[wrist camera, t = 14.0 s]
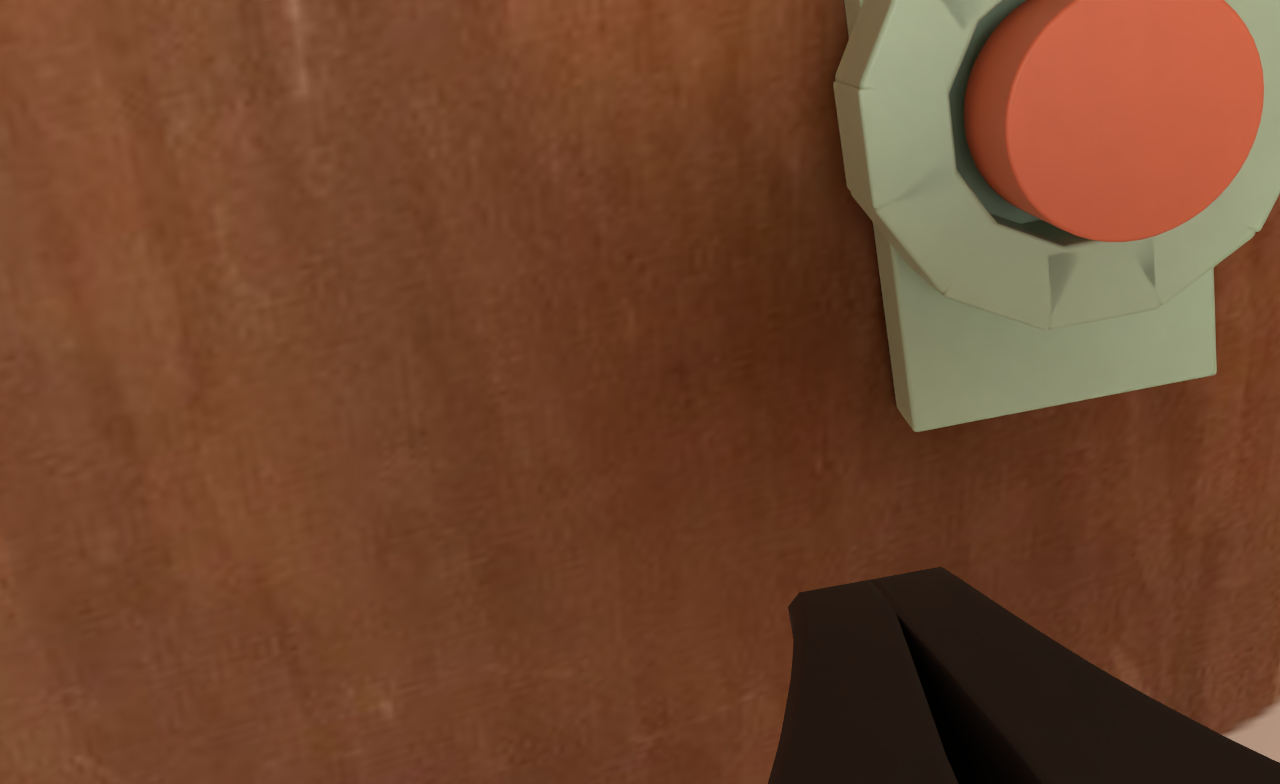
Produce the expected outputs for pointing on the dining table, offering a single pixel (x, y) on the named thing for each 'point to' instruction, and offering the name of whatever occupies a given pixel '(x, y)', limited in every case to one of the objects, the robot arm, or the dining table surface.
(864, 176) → the button box
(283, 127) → the dining table surface
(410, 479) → the dining table surface
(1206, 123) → the button
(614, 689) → the dining table surface
